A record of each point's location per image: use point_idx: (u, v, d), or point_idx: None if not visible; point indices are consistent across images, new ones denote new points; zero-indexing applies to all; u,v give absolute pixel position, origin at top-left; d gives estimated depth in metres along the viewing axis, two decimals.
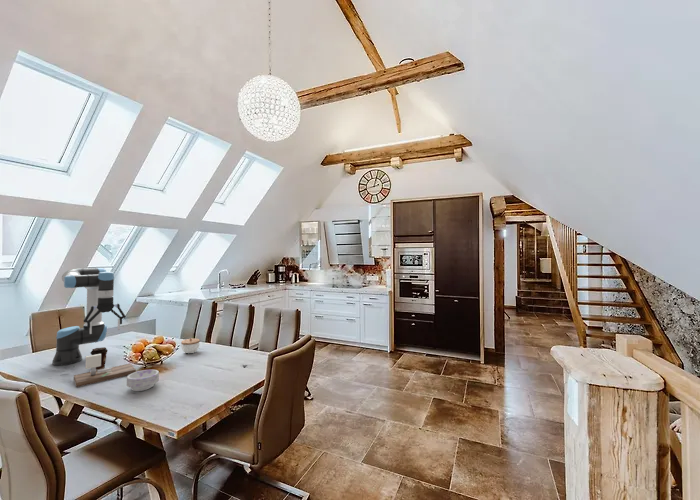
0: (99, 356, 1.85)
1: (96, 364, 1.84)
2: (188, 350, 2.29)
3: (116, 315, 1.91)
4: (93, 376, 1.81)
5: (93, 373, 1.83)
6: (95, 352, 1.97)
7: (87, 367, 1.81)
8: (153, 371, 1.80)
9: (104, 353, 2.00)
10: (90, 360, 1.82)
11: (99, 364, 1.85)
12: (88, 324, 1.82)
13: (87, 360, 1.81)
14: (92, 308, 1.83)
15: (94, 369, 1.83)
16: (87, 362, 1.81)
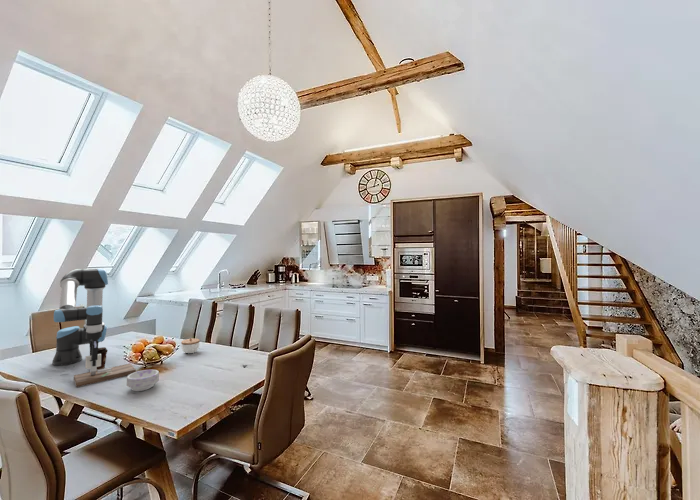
0: (99, 356, 1.85)
1: None
2: (188, 350, 2.29)
3: (91, 354, 1.82)
4: (93, 376, 1.81)
5: (93, 373, 1.83)
6: None
7: (87, 367, 1.81)
8: (153, 371, 1.80)
9: (104, 353, 2.00)
10: None
11: (99, 364, 1.85)
12: None
13: (87, 360, 1.81)
14: None
15: None
16: (87, 362, 1.81)
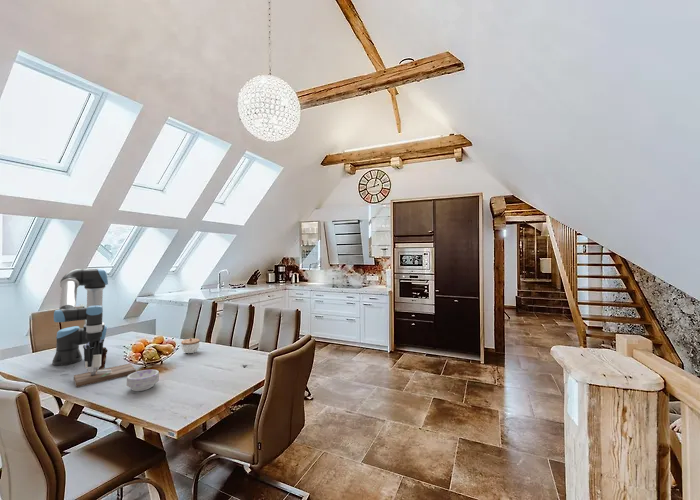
0: (98, 357, 1.84)
1: (95, 364, 1.83)
2: (188, 350, 2.29)
3: None
4: (93, 376, 1.81)
5: (92, 373, 1.83)
6: None
7: (86, 366, 1.82)
8: (153, 371, 1.80)
9: (104, 353, 2.00)
10: None
11: (98, 365, 1.84)
12: None
13: None
14: None
15: None
16: (86, 361, 1.82)
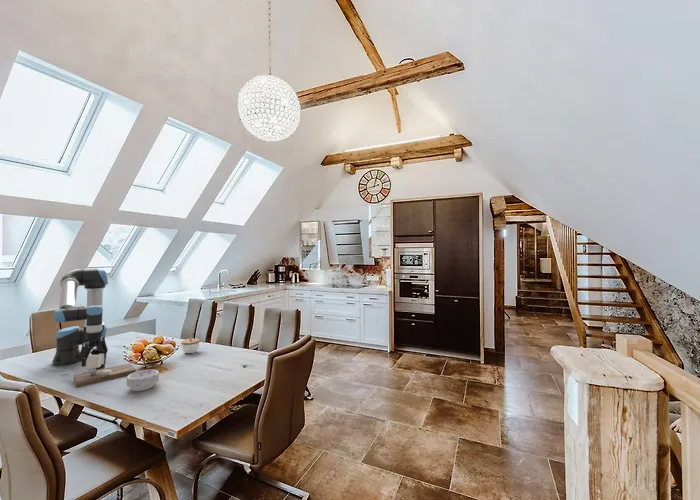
0: (97, 357, 1.83)
1: (94, 365, 1.83)
2: (188, 350, 2.29)
3: None
4: (93, 376, 1.81)
5: (91, 373, 1.83)
6: (95, 352, 1.97)
7: None
8: (153, 371, 1.80)
9: None
10: (88, 359, 1.82)
11: (96, 365, 1.83)
12: None
13: None
14: None
15: (92, 369, 1.83)
16: None
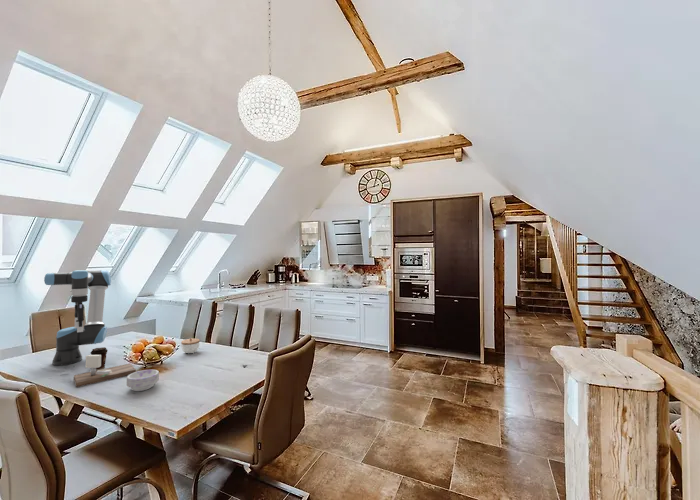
0: (96, 357, 1.83)
1: (94, 365, 1.83)
2: (188, 350, 2.29)
3: (77, 316, 1.83)
4: (93, 376, 1.81)
5: (91, 373, 1.83)
6: (95, 352, 1.97)
7: (86, 366, 1.82)
8: (153, 371, 1.80)
9: (104, 353, 2.00)
10: (88, 359, 1.82)
11: (96, 365, 1.83)
12: None
13: (86, 359, 1.82)
14: (75, 304, 1.91)
15: (92, 369, 1.83)
16: (86, 361, 1.82)
